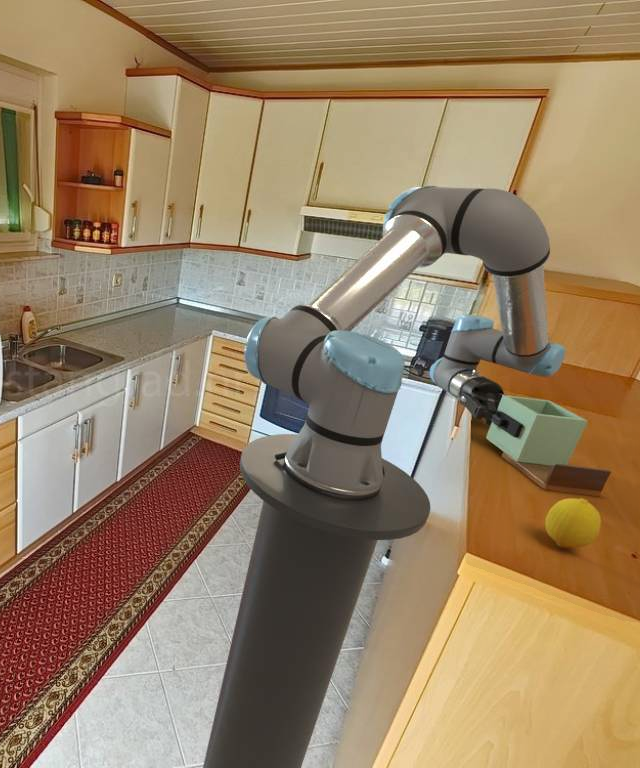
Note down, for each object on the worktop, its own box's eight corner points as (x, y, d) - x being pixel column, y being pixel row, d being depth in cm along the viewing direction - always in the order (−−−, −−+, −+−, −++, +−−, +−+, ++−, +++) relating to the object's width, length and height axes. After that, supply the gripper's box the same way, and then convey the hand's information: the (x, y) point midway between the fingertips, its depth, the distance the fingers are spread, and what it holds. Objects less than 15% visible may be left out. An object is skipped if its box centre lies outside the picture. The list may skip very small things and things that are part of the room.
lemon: (533, 543, 70) (555, 496, 67) (540, 529, 73) (561, 483, 71) (583, 565, 66) (609, 516, 63) (587, 549, 70) (612, 502, 67)
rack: (598, 496, 85) (611, 471, 83) (544, 489, 85) (555, 464, 83) (549, 462, 96) (559, 439, 94) (501, 456, 96) (510, 433, 95)
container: (566, 467, 92) (588, 420, 88) (516, 461, 92) (537, 414, 89) (530, 443, 101) (548, 400, 98) (485, 438, 102) (502, 394, 98)
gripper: (433, 370, 112) (493, 409, 91) (531, 382, 111) (614, 423, 90) (423, 400, 115) (479, 444, 94) (518, 412, 114) (596, 459, 93)
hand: (545, 434), depth 92 cm, fingers closed on container, 9 cm apart
